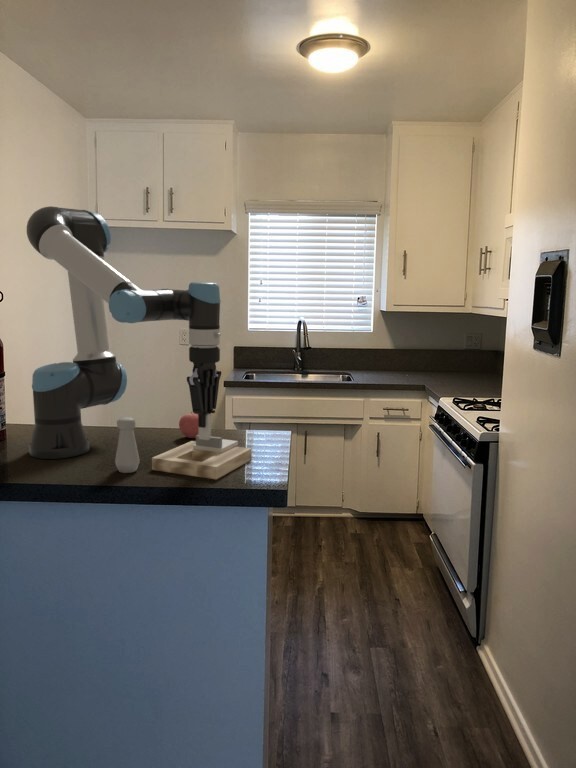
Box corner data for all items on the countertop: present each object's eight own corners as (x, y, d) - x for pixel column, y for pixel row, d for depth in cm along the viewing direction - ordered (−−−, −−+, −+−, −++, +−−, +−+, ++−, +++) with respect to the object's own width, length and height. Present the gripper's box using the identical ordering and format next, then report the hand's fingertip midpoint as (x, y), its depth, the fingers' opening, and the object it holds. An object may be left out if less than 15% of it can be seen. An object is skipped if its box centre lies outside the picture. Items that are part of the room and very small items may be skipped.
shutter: (192, 448, 160) (192, 435, 160) (210, 441, 168) (209, 428, 167) (221, 452, 157) (221, 439, 156) (238, 444, 165) (237, 431, 164)
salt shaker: (127, 475, 148) (125, 422, 146) (110, 471, 151) (108, 418, 149) (145, 469, 153) (143, 417, 151) (128, 465, 156) (126, 414, 154)
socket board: (152, 469, 153) (151, 457, 152) (191, 451, 169) (191, 440, 168) (216, 479, 146) (216, 467, 145) (251, 459, 162) (251, 448, 161)
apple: (191, 442, 179) (191, 415, 177) (174, 438, 183) (173, 411, 182) (210, 437, 184) (210, 410, 183) (193, 433, 189) (192, 407, 188)
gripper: (203, 349, 146) (204, 447, 150) (230, 344, 158) (230, 434, 162) (176, 347, 149) (177, 443, 153) (205, 342, 161) (205, 431, 165)
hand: (204, 438), depth 158 cm, fingers closed
